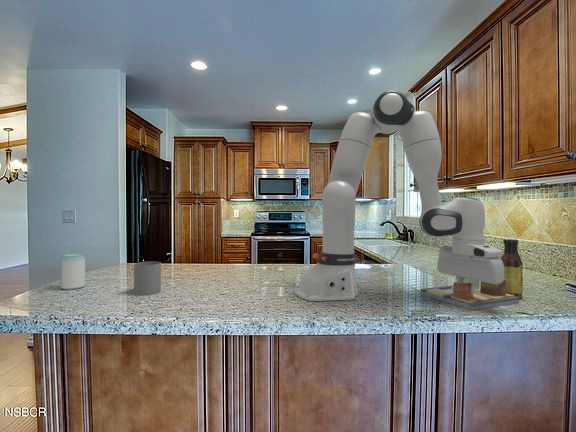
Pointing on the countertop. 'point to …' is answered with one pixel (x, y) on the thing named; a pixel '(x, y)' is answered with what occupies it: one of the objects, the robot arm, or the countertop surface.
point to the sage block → (470, 282)
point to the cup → (147, 278)
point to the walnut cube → (493, 289)
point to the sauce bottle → (512, 268)
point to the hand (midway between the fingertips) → (467, 292)
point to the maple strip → (463, 294)
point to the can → (72, 271)
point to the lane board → (447, 292)
